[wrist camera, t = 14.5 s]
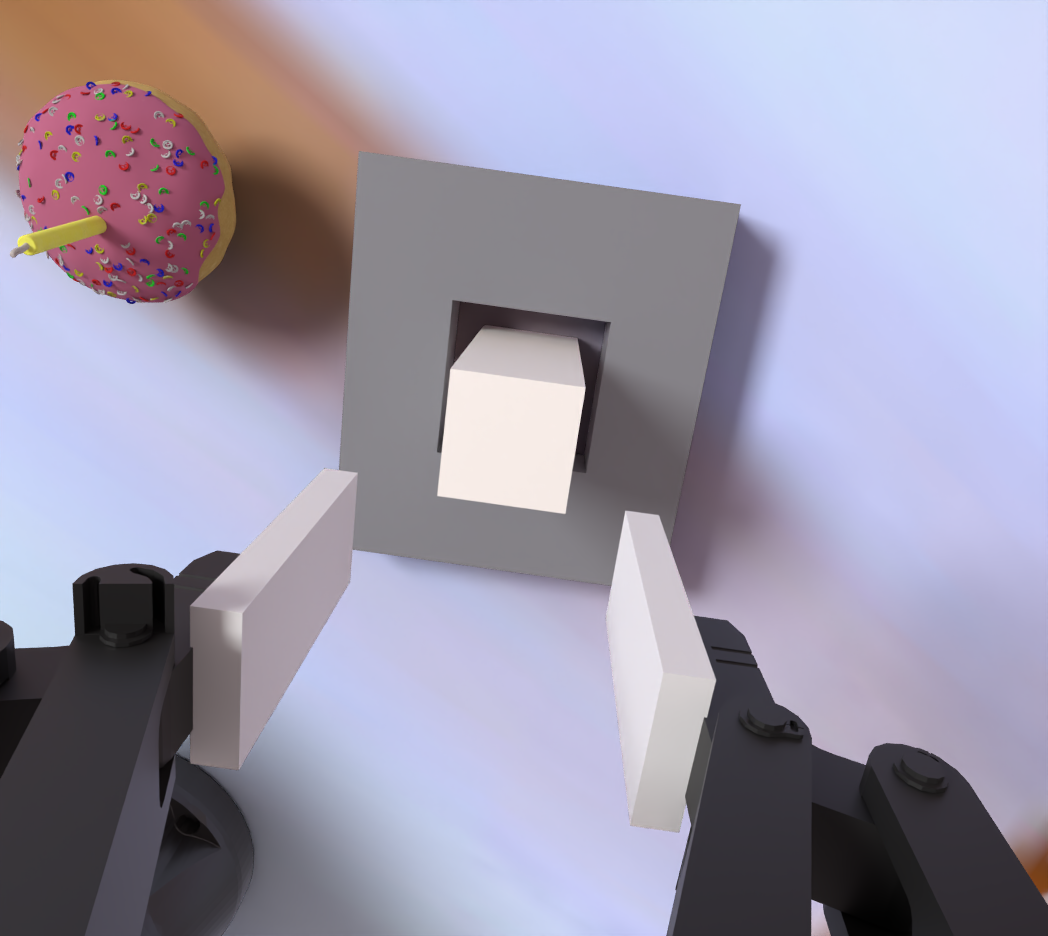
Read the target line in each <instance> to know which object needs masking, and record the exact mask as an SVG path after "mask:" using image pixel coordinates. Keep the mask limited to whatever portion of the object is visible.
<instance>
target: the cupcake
mask: <svg viewBox="0 0 1048 936" xmlns="http://www.w3.org/2000/svg"><path fill="white" fill-rule="evenodd" d="M22 143H23V144H22ZM21 144H22V149H21V151H20V153H19V155H17V157H16V161H17V164H16V165H17V166H18V168H17V170H19V184H20V190H16V191H15V194H16V195H17V196H18V197H19V198H21V201H22V204H23V207H24V210H25V220H26V221H28V222H29V225H30V228H31V229H32V231H33V233H31V234H27V235H23V236H21V237H20V238H19V239H18V248H15V249H13V250H12V251H11V252H10V256H11V257H12V258H14V257H16V256H17V255H18V254H21V253H24V254H26V255H35V254H38V253H41V252H44V251H46V255H47V258H48V259H49V256H50V257H51V258H52V259H53V261H54V262H55V263H56V264H57V265H58V266H59V267H60V268H61V269H62V270H63V271H64V272H66V273H67V275H68V276H69V277H70V278H72V279H73V280H75V281H77V282H79V283H81V284H82V285H84V286H87V287H89V288H91V289H92V290H93V291H94V292H95V293H97V294H101V295H108V296H111V297H115V298H119V299H124V300H126V301H127V302H128V303H130V304H134V303H135V302H169V301H172V300H175V299H178V298H180V297H182V296H184V295H186V294H188V293H189V292H191V291H192V290H193V289H194V288H195V287H196V286H197V284H198V282H199V281H201V280H202V279H204V278H205V277H206V276H207V275H208V274H210V273H211V272H212V271H213V270H214V269H215V268H216V267H217V266H218V265H219V264H220V263H221V261H222V259H223V257H224V255H225V252H226V249H227V247H228V245H229V243H230V241H231V239H232V236H233V234H234V231H235V226H236V208H235V198H234V192H233V187H232V174H231V167H230V164H229V162H228V160H227V158H226V157H225V155H224V153H223V152H222V150H221V148H220V147H219V145H218V144H217V142H216V141H215V139H214V138H213V136H212V134H211V133H210V131H209V130H208V128H207V126H206V125H205V123H204V122H203V121H202V119H201V118H200V117H199V116H198V115H197V114H196V113H195V112H194V111H192V110H191V109H190V108H188V107H187V106H185V105H183V104H182V103H180V102H178V101H177V100H175V99H174V98H172V97H171V96H169V95H168V94H166V93H164V92H163V91H161V90H159V89H157V88H155V87H152V86H150V85H146V84H142V83H136V82H131V81H124V80H104V81H98V82H94V83H93V82H88V83H87V84H86V86H80V87H75V88H72V89H69V90H67V91H65V92H63V93H61V94H59V95H57V96H56V97H54V98H53V99H52V100H51V101H49V102H48V103H47V104H46V105H45V106H44V107H43V108H42V109H41V110H40V111H38V112H37V113H36V114H35V115H34V116H33V117H32V118H31V119H30V120H29V122H28V123H27V125H26V128H25V130H24V138H23V139H22V140H21V141H20V142H19V143H18V145H21ZM19 157H20V159H19ZM18 159H19V161H18ZM19 192H20V193H19ZM18 193H19V195H18ZM20 195H21V196H20ZM96 291H97V292H96ZM130 301H133V302H130Z"/></svg>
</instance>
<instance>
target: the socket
mask: <svg viewBox="0 0 1048 936" xmlns="http://www.w3.org/2000/svg"><path fill="white" fill-rule="evenodd" d="M740 206H741V204H734V203H726V202H719V201H712V200H705V199H698V198H691V197H683V196H676V195H669V194H662V193H655V192H648V191H641V190H633V189H626V188H619V187H612V186H605V185H598V184H591V183H583V182H576V181H569V180H562V179H555V178H548V177H541V176H533V175H526V174H519V173H512V172H505V171H498V170H490V169H483V168H476V167H469V166H462V165H455V164H448V163H440V162H433V161H426V160H419V159H412V158H405V157H398V156H390V155H383V154H376V153H369V152H362V151H359V158H358V174H357V190H356V206H355V222H354V238H353V254H352V270H351V286H350V302H349V318H348V334H347V350H346V366H345V382H344V398H343V414H342V430H341V446H340V462H339V470H341V471H348V472H355V473H358V477H357V491H356V505H355V519H354V534H353V548H352V549H353V550H360V551H367V552H374V553H381V554H388V555H395V556H402V557H409V558H416V559H424V560H431V561H438V562H445V563H452V564H459V565H466V566H473V567H480V568H488V569H495V570H502V571H509V572H516V573H523V574H530V575H537V576H544V577H551V578H559V579H566V580H573V581H580V582H587V583H594V584H601V585H608V586H612V580H613V575H614V569H615V564H616V559H617V553H618V548H619V543H620V537H621V532H622V526H623V521H624V516H625V511H632V512H640V513H647V514H654V515H659V517H660V520H661V523H662V526H663V529H664V531H665V534H666V537H667V540H668V543H669V546H670V543H671V538H672V533H673V528H674V524H675V519H676V514H677V509H678V504H679V500H680V495H681V490H682V485H683V480H684V475H685V471H686V466H687V461H688V456H689V451H690V447H691V442H692V437H693V432H694V427H695V423H696V418H697V413H698V408H699V403H700V399H701V394H702V389H703V384H704V379H705V375H706V370H707V365H708V360H709V355H710V350H711V346H712V341H713V336H714V331H715V326H716V322H717V317H718V312H719V307H720V302H721V298H722V293H723V288H724V283H725V278H726V274H727V269H728V264H729V259H730V254H731V250H732V245H733V240H734V235H735V230H736V225H737V221H738V216H739V211H740ZM460 301H463V302H470V303H477V304H484V305H491V306H499V307H506V308H513V309H520V310H527V311H534V312H541V313H548V314H556V315H563V316H570V317H577V318H584V319H591V320H598V321H606V325H605V331H604V337H603V343H602V349H601V355H600V361H599V367H598V374H597V380H596V386H595V392H594V398H593V404H592V410H591V416H590V422H589V428H588V434H587V440H586V447H585V453H584V455H580V454H575V457H574V463H573V469H572V475H571V482H570V488H569V494H568V500H567V507H566V513H565V514H562V513H555V512H548V511H541V510H534V509H527V508H520V507H512V506H505V505H498V504H491V503H484V502H477V501H470V500H463V499H456V498H448V497H441V496H437V492H438V483H439V473H440V464H441V454H442V445H443V435H444V426H445V416H446V407H447V397H448V388H449V378H450V369H451V367H452V366H453V364H454V355H455V345H456V336H457V327H458V317H459V308H460Z"/></svg>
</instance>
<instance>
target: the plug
mask: <svg viewBox="0 0 1048 936" xmlns="http://www.w3.org/2000/svg"><path fill="white" fill-rule="evenodd" d="M585 388H586V387H585V381H584V375H583V369H582V363H581V357H580V351H579V345H578V339H577V338H575V337H568V336H561V335H554V334H546V333H539V332H532V331H525V330H518V329H511V328H504V327H497V326H489V325H484V326H483V327H482V329H481V330H480V331H479V332H478V334H477V335H476V336H475V338H474V339H473V340H472V341H471V343H470V344H469V345H468V347H467V348H466V349H465V351H464V352H463V353H462V354H461V356H460V357H459V358H458V360H457V361H456V362H455V363H454V365H453V366H452V367H451V369H450V378H449V388H448V397H447V407H446V416H445V426H444V435H443V445H442V454H441V464H440V473H439V483H438V492H437V496H441V497H448V498H456V499H463V500H470V501H477V502H484V503H491V504H498V505H505V506H512V507H520V508H527V509H534V510H541V511H548V512H555V513H562V514H565V513H566V507H567V500H568V494H569V488H570V482H571V475H572V469H573V463H574V457H575V451H576V444H577V438H578V432H579V426H580V419H581V413H582V407H583V401H584V394H585Z"/></svg>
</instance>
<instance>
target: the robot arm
mask: <svg viewBox="0 0 1048 936" xmlns="http://www.w3.org/2000/svg"><path fill="white" fill-rule="evenodd" d="M357 477H358V473H355V472H348V471H341V470H334V469H327V468H324V469H323V470H322V471H321V472H320V473H319V474H318V475H317V476H316V477H315V478H314V479H313V480H312V481H311V482H310V483H309V485H308V486H307V487H306V488H305V489H304V490H303V491H302V492H301V493H300V494H299V495H298V496H297V497H296V498H295V499H294V500H293V501H292V502H291V503H290V504H289V505H288V506H287V507H286V508H285V509H284V510H283V511H282V512H281V513H280V514H279V515H278V516H277V517H276V518H275V519H274V520H273V521H272V522H271V523H270V524H269V525H268V526H267V528H266V529H265V530H264V531H263V532H262V533H261V534H260V535H259V536H258V537H257V538H256V539H255V540H254V541H253V542H252V543H251V544H250V545H249V546H248V547H247V548H246V549H245V550H244V551H243V552H242V553H241V554H237V553H230V552H223V551H215V552H212V553H210V554H208V555H205V556H203V557H201V558H198V559H196V560H194V561H192V562H191V563H190V564H189V565H188V566H187V567H186V568H185V569H184V570H183V571H181V572H180V573H179V576H176V577H175V578H173V575H172V574H170V573H169V572H168V571H167V570H165V569H163V568H159V567H156V566H153V565H146V564H134V563H133V564H119V565H111V566H107V567H103V568H98V569H95V570H93V571H91V572H88V573H86V574H84V575H82V576H80V577H79V578H78V579H77V580H76V581H75V582H74V583H73V602H74V622H75V636H74V638H73V640H72V642H71V644H70V646H60V647H42V648H18V649H15V648H14V636H13V628H12V627H10V626H9V625H8V624H6V623H5V622H3V621H0V936H222V934H223V933H224V932H225V930H226V929H227V928H228V926H229V925H230V923H231V921H232V920H233V918H234V916H235V914H236V912H237V910H238V908H239V906H240V903H241V901H242V899H243V897H244V895H245V893H246V891H247V889H248V886H249V884H250V880H251V877H252V872H253V864H254V853H253V845H252V840H251V836H250V833H249V830H248V827H247V825H246V822H245V820H244V818H243V816H242V814H241V813H240V811H239V809H238V808H237V806H236V805H235V803H234V802H233V800H232V799H231V798H230V797H229V795H228V794H227V793H226V792H225V791H224V790H223V789H222V788H221V787H220V786H219V785H218V784H217V783H216V782H215V781H214V780H213V779H212V778H211V777H209V776H208V775H207V774H206V773H204V772H203V771H202V770H200V769H199V768H197V767H196V766H194V765H193V764H197V765H204V766H211V767H218V768H225V769H233V770H239V769H240V768H241V766H242V764H243V762H244V761H245V759H246V757H247V756H248V754H249V752H250V751H251V749H252V747H253V746H254V744H255V742H256V740H257V739H258V737H259V735H260V734H261V732H262V730H263V729H264V727H265V725H266V724H267V722H268V720H269V718H270V717H271V715H272V713H273V712H274V710H275V708H276V707H277V705H278V703H279V702H280V700H281V698H282V696H283V695H284V693H285V691H286V690H287V688H288V686H289V685H290V683H291V681H292V679H293V678H294V676H295V674H296V673H297V671H298V669H299V668H300V666H301V664H302V663H303V661H304V659H305V657H306V656H307V654H308V652H309V651H310V649H311V647H312V646H313V644H314V642H315V641H316V639H317V637H318V635H319V634H320V632H321V630H322V629H323V627H324V625H325V624H326V622H327V620H328V618H329V617H330V615H331V613H332V612H333V610H334V608H335V607H336V605H337V603H338V602H339V600H340V598H341V596H342V595H343V593H344V591H345V590H346V588H347V586H348V585H349V583H350V576H351V562H352V548H353V534H354V519H355V505H356V491H357ZM606 626H607V635H608V643H609V651H610V660H611V668H612V677H613V685H614V693H615V702H616V710H617V719H618V727H619V735H620V744H621V752H622V761H623V769H624V777H625V786H626V794H627V803H628V811H629V819H630V826H636V827H643V828H650V829H657V830H664V831H671V832H678V833H679V831H680V827H681V823H682V819H683V814H684V810H685V806H686V803H687V808H688V813H689V817H690V822H691V828H690V832H689V836H688V840H687V844H686V848H685V852H684V856H683V861H682V865H681V869H680V873H679V877H678V881H677V885H676V889H675V890H676V894H675V899H674V903H673V908H672V912H671V917H670V922H669V926H668V931H667V935H666V936H811V899H812V900H814V901H817V902H819V903H822V904H823V910H824V915H825V918H826V921H827V925H828V928H829V931H830V934H831V936H1048V905H1047V903H1046V902H1045V900H1044V898H1043V897H1042V895H1041V894H1040V892H1039V891H1038V889H1037V888H1036V886H1035V884H1034V883H1033V881H1032V880H1031V878H1030V877H1029V875H1028V874H1027V872H1026V871H1025V869H1024V868H1023V866H1022V864H1021V863H1020V861H1019V860H1018V858H1017V857H1016V855H1015V854H1014V852H1013V851H1012V849H1011V847H1010V846H1009V844H1008V843H1007V841H1006V840H1005V838H1004V837H1003V835H1002V834H1001V832H1000V830H999V829H998V827H997V826H996V824H995V823H994V821H993V820H992V818H991V817H990V815H989V813H988V812H987V810H986V809H985V807H984V806H983V804H982V803H981V801H980V800H979V798H978V796H977V795H976V793H975V792H974V790H973V789H972V787H971V786H970V784H969V783H968V782H967V781H966V780H965V778H964V777H963V776H962V775H961V774H960V773H959V772H958V771H957V770H956V769H954V768H953V767H952V766H950V765H949V764H947V763H946V762H945V761H943V760H942V759H941V758H939V757H938V756H936V755H934V754H932V753H931V754H930V753H928V751H925V750H922V749H920V748H914V747H911V746H907V745H903V744H889V743H886V744H883V745H879V746H876V747H874V749H873V750H872V752H871V753H870V754H869V757H868V761H867V764H866V765H864V764H861V763H858V762H855V761H852V760H849V759H846V758H843V757H840V756H837V755H834V754H832V753H829V752H827V751H824V750H822V749H819V748H817V747H816V746H814V745H812V738H811V735H810V731H809V728H808V727H807V726H806V724H805V723H804V722H803V721H802V720H801V719H800V718H799V717H798V716H797V715H795V714H794V713H792V712H791V711H789V710H788V709H786V708H785V707H783V706H780V705H778V704H775V702H774V700H773V698H772V696H771V693H770V691H769V689H768V687H767V685H766V682H765V680H764V678H763V676H762V674H761V671H760V669H759V668H757V663H756V660H755V658H754V656H753V655H751V653H752V652H751V649H750V647H749V645H748V643H747V641H746V638H745V636H744V635H743V634H742V633H741V632H739V631H738V630H737V629H736V628H735V627H734V626H733V625H732V624H731V623H729V622H728V621H727V620H720V619H713V618H706V617H699V616H694V615H693V612H692V609H691V606H690V603H689V601H688V598H687V595H686V592H685V589H684V586H683V583H682V580H681V578H680V575H679V572H678V569H677V566H676V563H675V560H674V557H673V555H672V552H671V549H670V546H669V543H668V540H667V537H666V534H665V531H664V529H663V526H662V523H661V520H660V517H659V515H654V514H647V513H640V512H632V511H625V516H624V521H623V526H622V532H621V537H620V543H619V548H618V553H617V559H616V564H615V569H614V575H613V580H612V586H611V591H610V596H609V602H608V607H607V612H606ZM189 734H190V763H189V762H188V761H186V760H184V759H182V758H180V757H178V756H176V755H175V753H176V752H177V750H178V749H179V748H180V746H181V745H182V743H183V742H184V741H185V739H186V738H187V737H188V735H189Z"/></svg>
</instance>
